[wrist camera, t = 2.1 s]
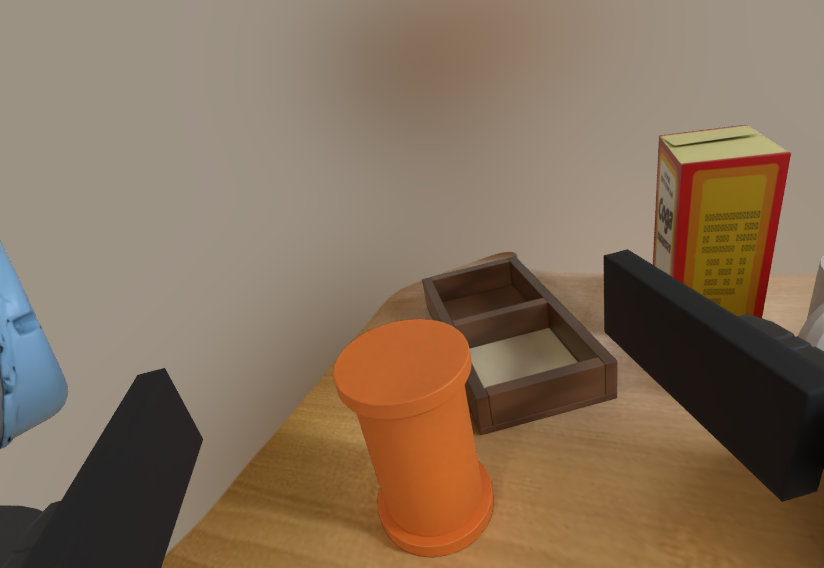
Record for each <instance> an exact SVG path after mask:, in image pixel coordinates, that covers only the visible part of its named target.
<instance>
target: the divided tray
mask: <svg viewBox="0 0 824 568" xmlns="http://www.w3.org/2000/svg"><path fill="white" fill-rule="evenodd" d="M422 283H423V288H424V293H425V297H426V302H427V307H428V309H429V312H430V314H431V316H432V319H433V320H435V321H439V322H443V323H446V324H449V325H451V326H453V327H454V328H456V329H457V330H459V331H460V332H461V333H462V334H463V335H464V337H465V338H466V340H467V342H468V345H469V350H470V356H471V363H472V364H471V371H470V375H469V377H468V379H467V381H466V383H465V390H466V396H467V401H468V405H469V407H470V410H471V412H472V415H473V417H474V419H475V422H476V424H477V427H478V429H479V431H480V434H481V435H483V434H487V433H490V432H494V431H498V430H501V429H505V428H509V427H512V426H516V425H520V424H523V423H527V422H530V421H534V420H538V419H541V418H545V417H549V416H552V415H556V414H560V413H563V412H567V411H571V410H574V409H578V408H582V407H585V406H589V405H593V404H596V403H600V402H604V401H607V400H611V399H614V398H617V360H616V359H615V358H614V357H613V356H612V355H611V354H610V353H609V352H608V351H607V350H606V349H605V348H604V347H603V346H602V345H601V344H600V343H599V342H598V341H597V340H596V339H595V338H594V337H593V336H592V334H591V333H590V332H589V331H588V330H587V329H586V328H585V327H584V326H583V325H582V324H581V323H580V322H579V321H578V320H577V319H576V318H575V317H574V316H573V315H572V314H571V313H570V312H569V311H568V310H567V309H566V308H565V307H564V306H563V305H562V304H561V303H560V302H559V301H558V300H557V299H556V298H555V297H554V296H553V295H552V294H551V293H550V291H549V290H548V289H547V288H546V287H545V286H544V285H543V284H542V283H541V282H540V281H539V280H538V279H537V278H536V277H535V276H534V275H533V274H532V273H531V272H530V271H529V270H528V269H527V268H526V267H525V266H524V265H523V264H522V263H521V262H520V261H519V260H518V259H517V258H516V257H515V256H514V257H510V258H506V259H502V260H498V261H494V262H490V263H486V264H482V265H478V266H474V267H470V268H466V269H462V270H457V271H453V272H449V273H445V274H441V275H437V276H433V277H431V278H426V279H423V280H422Z"/></svg>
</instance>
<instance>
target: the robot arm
mask: <svg viewBox="0 0 824 568" xmlns="http://www.w3.org/2000/svg"><path fill="white" fill-rule="evenodd" d="M604 330H605V333H606V334H607V335H608V336H609V337H610V338H611V339H612V340H613V341H614V342H616V343H617V344H618V345H619V346H620V347H621V348H622V349H623V350H624V351H625V352H626V353H627V354H628V355H629V356H630V357H631V358H632V359H633V360H634V361H635V362H636V363H637V364H639V365H640V366H641V367H642V368H643V369H644V370H645V371H646V372H647V373H648V374H649V375H650V376H651V377H652V378H653V379H654V380H655V381H656V382H657V383H658V384H659V385H661V386H662V387H663V388H664V389H665V390H666V391H667V392H668V393H669V394H670V395H671V396H672V397H673V398H674V399H675V400H676V401H677V402H678V403H679V404H680V405H681V406H682V407H684V408H685V409H686V410H687V411H688V412H689V413H690V414H691V415H692V416H693V417H694V418H695V419H696V420H697V421H698V422H699V423H700V424H701V425H702V426H703V427H704V428H705V429H707V430H708V431H709V432H710V433H711V434H712V435H713V436H714V437H715V438H716V439H717V440H718V441H719V442H720V443H721V444H722V445H723V446H724V447H725V448H726V449H727V450H728V451H730V452H731V453H732V454H733V455H734V456H735V457H736V458H737V459H738V460H739V461H740V462H741V463H742V464H743V465H744V466H745V467H746V468H747V469H748V470H749V471H750V472H751V473H753V474H754V475H755V476H756V477H757V478H758V479H759V480H760V481H761V482H762V483H763V484H764V485H765V486H766V487H767V488H768V489H769V490H770V491H771V492H772V493H773V494H774V495H776V496H777V497H778V498H779V499H780V500H781V501H782V502H783V501H786V500H789V499H793V498H796V497H799V496H803V495H806V494H810V493H813V492H816V491H817V490H818V486H819V483H820V479H821V476H822V472H823V469H824V351H822V350H821V349H819V348H817V347H812V346H811V344H810V343H808V342H807V341H805V340H803V339H801V338H800V337H798V336H797V337H795V336H794V334H793V333H791V332H789V331H788V330H786V329H784V328H782V327H781V326H779V325H777V324H775V323H774V322H771V321H768V320H765V319H762V318H759V317H755V316H752V315H749V314H745V315H741V316H736V315H734V314H733V313H731V312H729V311H728V310H726V309H724V308H723V307H721V306H720V305H718V304H716V303H715V302H713V301H711V300H710V299H708V298H706V297H705V296H703V295H701V294H700V293H698V292H697V291H695V290H693V289H692V288H690V287H688V286H687V285H685V284H683V283H682V282H680V281H679V280H677V279H675V278H674V277H672V276H670V275H669V274H667V273H665V272H664V271H662V270H660V269H659V268H657V267H656V266H654V265H652V264H651V263H649V262H647V261H645V260H644V259H642V258H641V257H639V256H638V255H636V254H634V253H633V252H631V251H629V250H623V251H620V252H616V253H612V254H608V255H604ZM67 396H68V386H67V383H66V380H65V377H64V375H63V373H62V370H61V368H60V366H59V364H58V362H57V359H56V357H55V355H54V353H53V351H52V349H51V347H50V344H49V342H48V340H47V338H46V336H45V334H44V332H43V330H42V328H41V326H40V324H39V322H38V320H37V318H36V314H35V312H34V310H33V308H32V307H31V304H30V302H29V299H28V297H27V295H26V293H25V291H24V288H23V286H22V284H21V282H20V280H19V278H18V276H17V274H16V271H15V269H14V267H13V265H12V264H11V261H10V259H9V257H8V255H7V253H6V251H5V249H4V247H3V245H2V243H1V241H0V449H2V448H4V447H6V446H7V445H9V443H10V442H11V441H12V440H13V438H15V437H17V436H19V435H21V434H22V433H24V432H26V431H28V430H30V429H31V428H33V427H35V426H37V425H39V424H40V423H42V422H44V421H46V420H48V419H49V418H51V417H53V416H54V415H55V414H56V413H58V412H59V411H60V410H61V408H62V407H63V406H64V404H65V402H66V399H67ZM202 441H203V438H202V436H201V434H200V432H199V431H198V429H197V427H196V425H195V423H194V421H193V419H192V418H191V416H190V414H189V412H188V410H187V408H186V406H185V405H184V403H183V401H182V399H181V397H180V395H179V393H178V391H177V390H176V388H175V386H174V384H173V382H172V380H171V379H170V377H169V375H168V373H167V371H166V369H165V368H163V369H159V370H155V371H151V372H147V373H143V374H140V375H137V377H136V379H135V380H134V382H133V384H132V385H131V387H130V388H129V390H128V392H127V394H126V395H125V397H124V398H123V400H122V401H121V403H120V405H119V407H118V408H117V410H116V411H115V413H114V415H113V416H112V418H111V420H110V421H109V423H108V425H107V426H106V428H105V429H104V431H103V433H102V434H101V436H100V438H99V439H98V441H97V443H96V444H95V446H94V448H93V449H92V451H91V452H90V454H89V456H88V457H87V459H86V461H85V462H84V464H83V466H82V467H81V469H80V471H79V472H78V474H77V476H76V477H75V479H74V480H73V482H72V484H71V485H70V487H69V489H68V490H67V492H66V494H65V496H64V497H63V499H62V500H61V501H58V502H55V503H52V504H50V505H49V506H48V507H47V508H46V509H45V510H44V511H43V512H42V513H41V514H40V515H39V516H38V517H37V518H36V519H35V520H34V521H33V522H32V523H31V524H30V525H29V526H28V528H27V529H26V531H25V532H24V534H23V535H22V537H21V538H20V540H19V541H18V543H17V545H16V546H15V548H14V549H13V554H12V555H9V557H8V558H7V560H6V562H5V563H4V565H3V566H2V568H161V566H162V563H163V560H164V557H165V554H166V551H167V548H168V545H169V542H170V538H171V536H172V533H173V529H174V527H175V523H176V520H177V517H178V514H179V511H180V508H181V505H182V502H183V499H184V496H185V493H186V490H187V487H188V484H189V481H190V478H191V475H192V471H193V469H194V465H195V462H196V460H197V456H198V453H199V450H200V447H201V444H202Z"/></svg>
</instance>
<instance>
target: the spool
mask: <svg viewBox="0 0 824 568" xmlns="http://www.w3.org/2000/svg"><path fill="white" fill-rule="evenodd" d="M471 364H472V363H471V356H470V350H469V345H468V342H467V340H466V338H465V337H464V335H463V334H462V333H461V332H460V331H459V330H457V329H456V328H454V327H453V326H451V325H449V324H446V323H443V322H439V321H435V320H427V319H412V320H403V321H397V322H393V323H389V324H386V325H383V326H380V327H377V328H375V329H373V330H370V331H368V332H366V333H365V334H363V335H361V336H360V337H358V338H357V339H355V340H354V341H353V342H351V343H350V344H349V345H348V346H347V347H346V348H345V349H344V350H343V351H342V353H341V354H340V355H339V357H338V359H337V361H336V363H335V366H334V372H333V377H334V382H335V385H336V388H337V391H338V394H339V396H340V398H341V400H342V401H343V403H344V404H345V405H346V406H347V407H348V408H350V409H351V410H352V411H354V412H356V413H357V416H358V419H359V423H360V426H361V429H362V432H363V435H364V438H365V441H366V444H367V447H368V451H369V454H370V457H371V460H372V463H373V466H374V469H375V472H376V475H377V478H378V482H379V485H380V489H379V493H378V500H377V503H378V512H379V516H380V519H381V522H382V524H383V527H384V530H385V531H386V533H387V535H388V536H389V537H390V539H391V540H392V541H393V542H394V543H395V544H396V545H397V546H399V547H400V548H402V549H403V550H405V551H407V552H410V553H412V554H416V555H420V556H426V557H436V556H444V555H448V554H452V553H454V552H457V551H459V550H461V549H463V548H465V547H467V546H468V545H470V544H471V543H472V542H473V541H475V540H476V539H477V538H478V537H479V536H480V534H481V533H482V532H483V531H484V529H485V528H486V526H487V524H488V522H489V520H490V518H491V515H492V512H493V505H494V497H493V490H492V484H491V480H490V477H489V475H488V473H487V471H486V469H485V468H484V466H483V465H482V464H481V463H480V462H479V461H478V458H477V452H476V446H475V441H474V435H473V430H472V424H471V418H470V413H469V407H468V401H467V396H466V390H465V383H466V381H467V379H468V377H469V375H470V371H471Z"/></svg>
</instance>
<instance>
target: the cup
mask: <svg viewBox="0 0 824 568" xmlns="http://www.w3.org/2000/svg"><path fill="white" fill-rule="evenodd" d="M798 337H800V338H801V339H803V340H805V341H807V342H808V343H810V344H811V346H812V347H817V348H819V349H821V350H822V351H824V256H823V257H822V258H821V260H820V264H819V269H818V273H817V277H816V282H815V286H814V291H813V295H812V299H811V304H810V308H809V313H808V317H807V321H806V322H805V324H804V326H803V327H802V329H801V331H800V333H799V336H798Z"/></svg>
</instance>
